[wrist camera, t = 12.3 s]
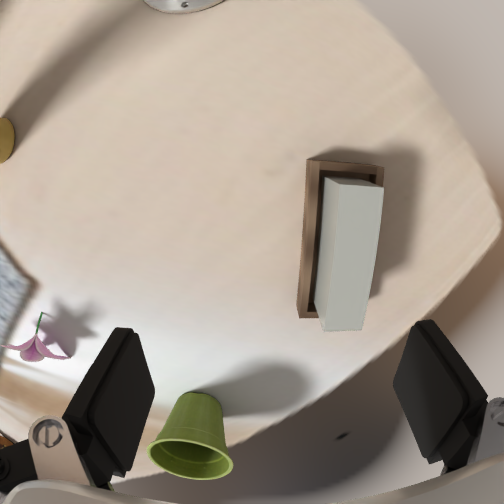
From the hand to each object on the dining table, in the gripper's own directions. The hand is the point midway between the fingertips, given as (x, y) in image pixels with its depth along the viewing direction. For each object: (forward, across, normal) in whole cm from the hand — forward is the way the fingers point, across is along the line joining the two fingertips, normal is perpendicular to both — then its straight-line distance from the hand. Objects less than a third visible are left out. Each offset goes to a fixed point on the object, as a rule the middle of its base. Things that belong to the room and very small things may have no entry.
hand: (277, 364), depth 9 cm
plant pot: (+24, +10, +31) cm, 41 cm away
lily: (+24, +35, +20) cm, 47 cm away
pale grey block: (+23, -8, +4) cm, 25 cm away
